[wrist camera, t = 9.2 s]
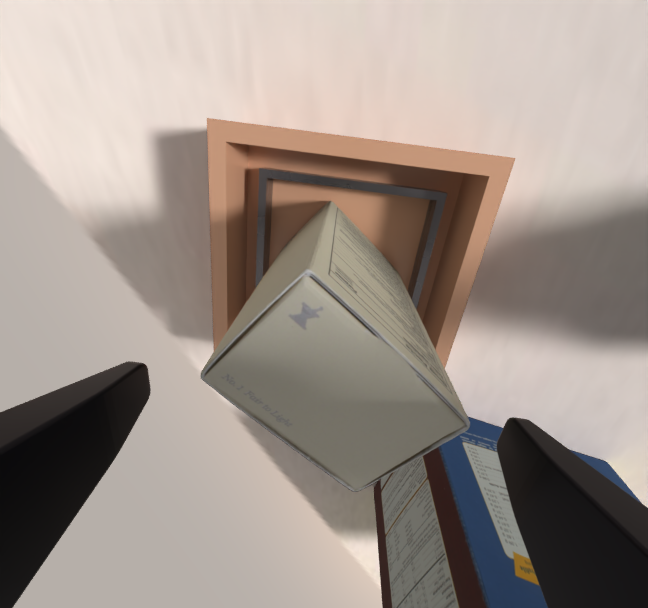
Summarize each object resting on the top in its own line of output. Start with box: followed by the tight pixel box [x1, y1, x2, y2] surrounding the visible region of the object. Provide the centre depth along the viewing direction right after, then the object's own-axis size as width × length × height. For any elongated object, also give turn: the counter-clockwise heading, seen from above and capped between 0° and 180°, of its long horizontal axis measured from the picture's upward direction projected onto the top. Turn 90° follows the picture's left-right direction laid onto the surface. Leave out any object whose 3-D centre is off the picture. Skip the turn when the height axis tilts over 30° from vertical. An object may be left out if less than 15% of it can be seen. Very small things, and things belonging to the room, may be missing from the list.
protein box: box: [374, 417, 641, 608], centre depth 19 cm, size 10×15×16 cm
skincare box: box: [201, 201, 470, 492], centre depth 14 cm, size 6×4×12 cm
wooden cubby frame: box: [207, 118, 515, 369], centre depth 18 cm, size 13×13×4 cm
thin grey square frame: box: [255, 167, 447, 310], centre depth 19 cm, size 9×9×2 cm
